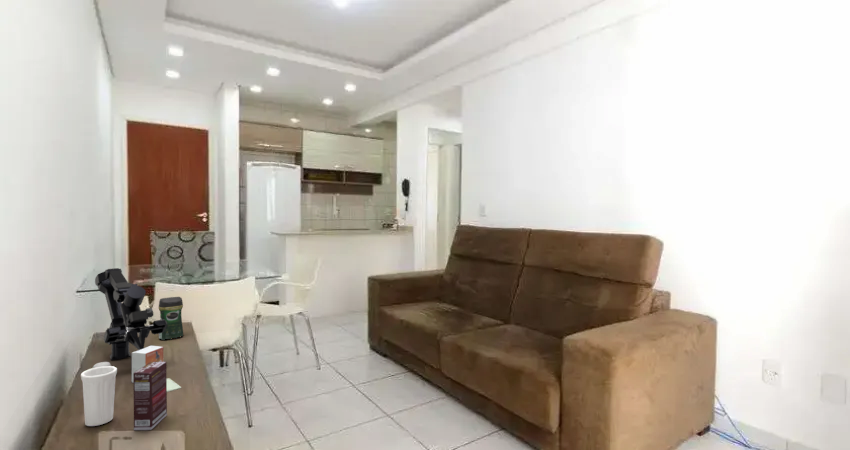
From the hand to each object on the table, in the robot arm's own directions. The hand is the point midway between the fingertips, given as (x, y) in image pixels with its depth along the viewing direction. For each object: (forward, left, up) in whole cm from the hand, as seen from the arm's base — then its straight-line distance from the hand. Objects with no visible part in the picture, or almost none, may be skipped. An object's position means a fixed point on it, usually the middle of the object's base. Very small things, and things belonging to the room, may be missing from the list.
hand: (142, 350), depth 152 cm
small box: (+6, +1, -9) cm, 11 cm away
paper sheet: (+16, +3, -9) cm, 19 cm away
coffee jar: (-42, +16, -9) cm, 46 cm away
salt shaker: (+22, -12, -9) cm, 27 cm away
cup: (+33, -13, -9) cm, 36 cm away
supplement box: (+42, -2, -9) cm, 43 cm away
